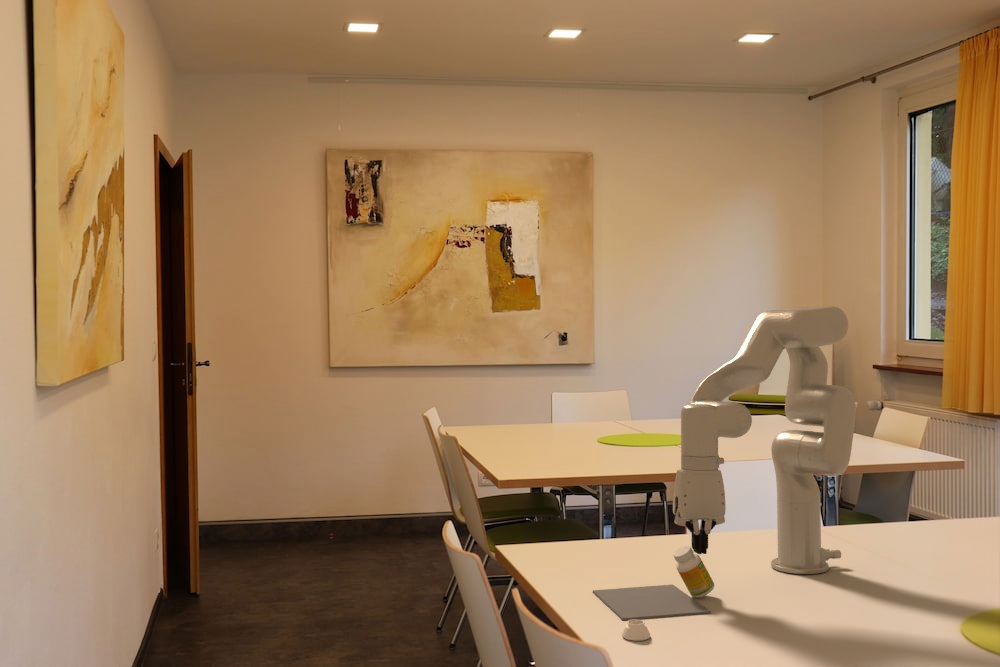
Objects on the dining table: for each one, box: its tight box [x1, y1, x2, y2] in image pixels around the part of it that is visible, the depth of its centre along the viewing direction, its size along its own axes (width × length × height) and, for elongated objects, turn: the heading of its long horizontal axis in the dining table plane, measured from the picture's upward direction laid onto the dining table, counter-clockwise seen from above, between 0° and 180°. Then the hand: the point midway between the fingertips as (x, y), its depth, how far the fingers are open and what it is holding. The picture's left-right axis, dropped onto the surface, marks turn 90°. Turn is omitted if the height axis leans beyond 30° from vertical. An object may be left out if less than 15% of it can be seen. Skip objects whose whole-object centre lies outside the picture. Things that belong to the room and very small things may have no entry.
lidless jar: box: [621, 619, 651, 642], centre depth 173 cm, size 5×3×5 cm
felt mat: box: [592, 584, 712, 621], centre depth 194 cm, size 18×20×1 cm
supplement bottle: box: [672, 545, 715, 598], centre depth 197 cm, size 5×5×10 cm
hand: (699, 552), depth 197 cm, fingers closed
